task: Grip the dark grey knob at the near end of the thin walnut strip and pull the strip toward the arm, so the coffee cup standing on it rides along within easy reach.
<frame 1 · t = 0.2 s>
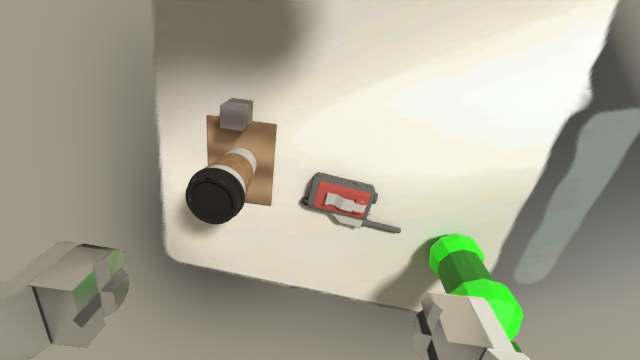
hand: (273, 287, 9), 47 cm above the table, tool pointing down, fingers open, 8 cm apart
walkie-talkie: (355, 200, 62), on the table
coffee cup: (241, 162, 59), resting on walnut strip
plastic bottle: (448, 245, 64), on the table
walnut strip: (236, 159, 55), point 3 cm above the table, slide at 0.1 cm, touching coffee cup
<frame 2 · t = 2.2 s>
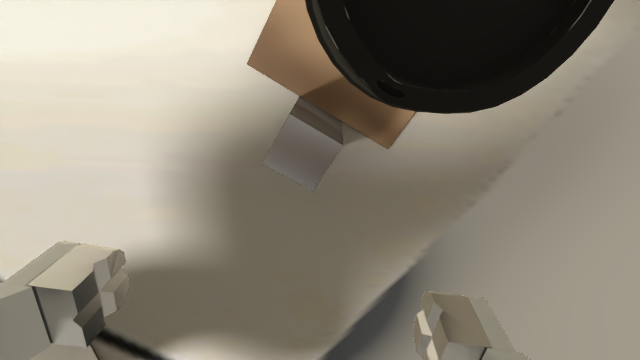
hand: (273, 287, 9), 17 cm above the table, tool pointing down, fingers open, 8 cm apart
coffee cup: (383, 2, 21), resting on walnut strip
walnut strip: (373, 26, 19), point 3 cm above the table, slide at 0.0 cm, touching coffee cup
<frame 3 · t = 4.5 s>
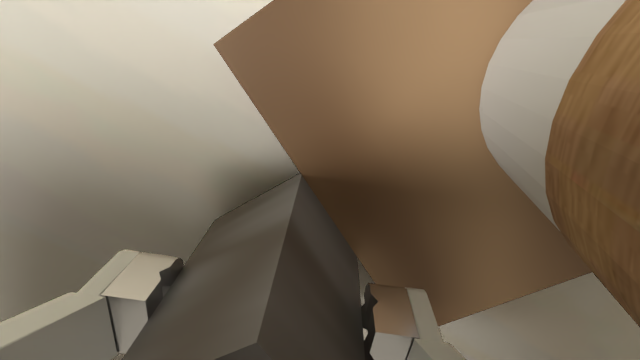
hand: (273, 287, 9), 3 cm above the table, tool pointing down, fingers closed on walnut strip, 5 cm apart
coffee cup: (592, 86, 8), resting on walnut strip
walnut strip: (607, 155, 6), point 3 cm above the table, slide at 0.0 cm, touching coffee cup, gripper
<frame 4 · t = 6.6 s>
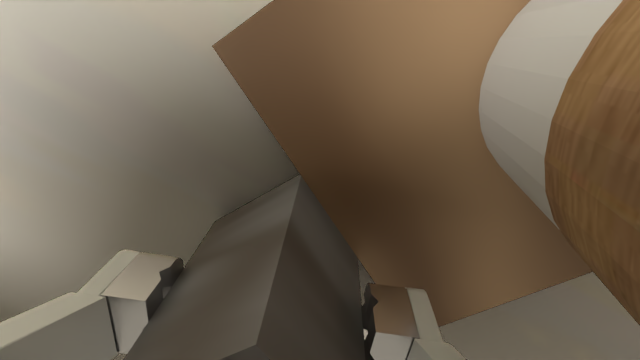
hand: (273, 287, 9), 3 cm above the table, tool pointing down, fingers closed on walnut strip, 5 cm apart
coffee cup: (591, 85, 8), resting on walnut strip
walnut strip: (607, 154, 6), point 3 cm above the table, slide at 5.4 cm, touching coffee cup, gripper
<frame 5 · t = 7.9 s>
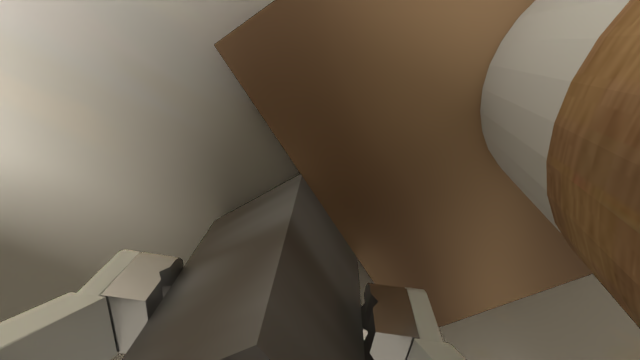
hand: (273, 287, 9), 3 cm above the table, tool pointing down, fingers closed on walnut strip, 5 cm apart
coffee cup: (593, 87, 8), resting on walnut strip
walnut strip: (609, 157, 6), point 3 cm above the table, slide at 9.7 cm, touching coffee cup, gripper
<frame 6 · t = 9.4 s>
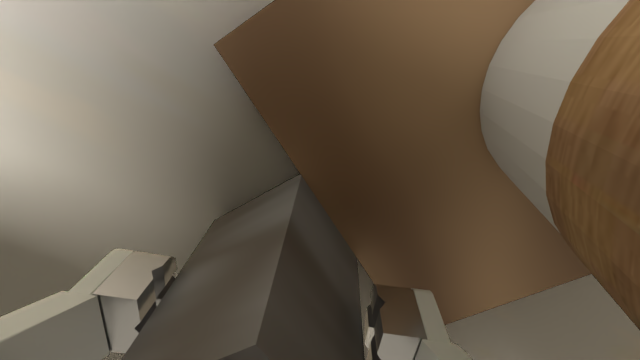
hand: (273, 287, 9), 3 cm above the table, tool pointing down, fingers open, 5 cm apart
coffee cup: (592, 88, 8), resting on walnut strip
walnut strip: (608, 157, 6), point 3 cm above the table, slide at 9.8 cm, touching coffee cup
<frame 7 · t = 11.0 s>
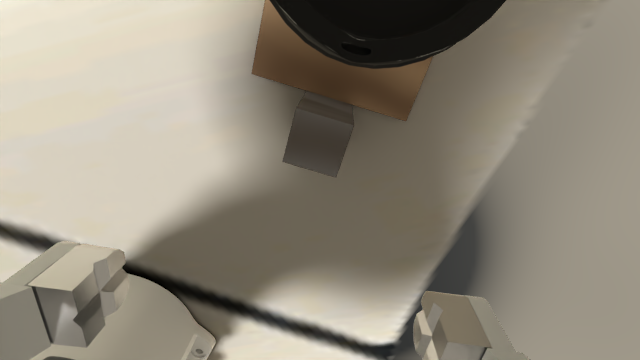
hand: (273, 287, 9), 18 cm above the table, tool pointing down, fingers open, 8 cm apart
walnut strip: (358, 2, 19), point 3 cm above the table, slide at 9.8 cm, touching coffee cup
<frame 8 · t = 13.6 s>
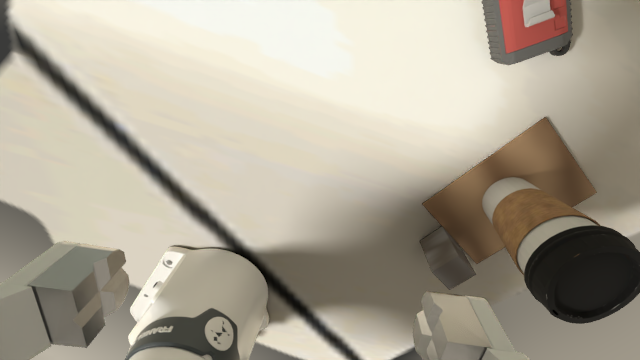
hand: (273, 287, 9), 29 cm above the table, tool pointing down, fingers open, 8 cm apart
coffee cup: (506, 198, 39), resting on walnut strip
walnut strip: (505, 219, 37), point 3 cm above the table, slide at 9.8 cm, touching coffee cup
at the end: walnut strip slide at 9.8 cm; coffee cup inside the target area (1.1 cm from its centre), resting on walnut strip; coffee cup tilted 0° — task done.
